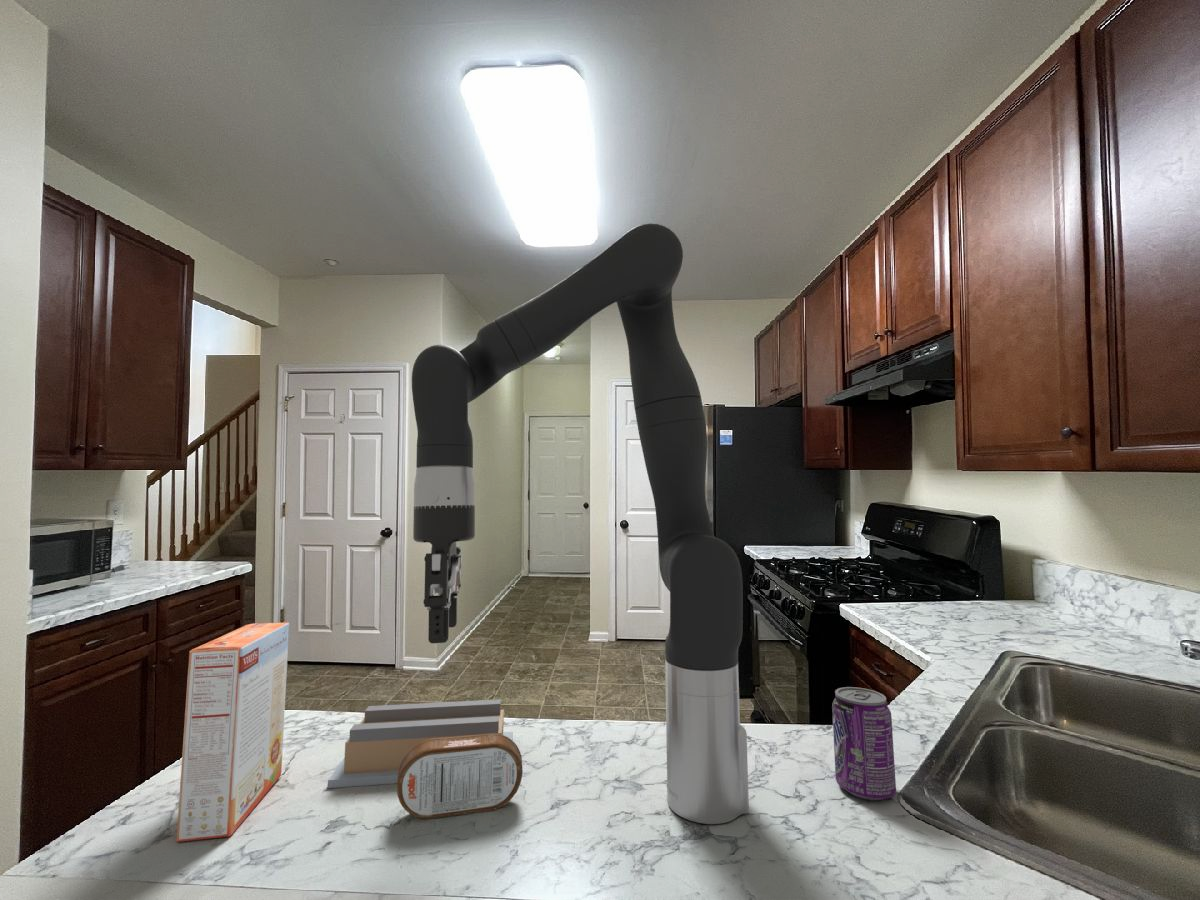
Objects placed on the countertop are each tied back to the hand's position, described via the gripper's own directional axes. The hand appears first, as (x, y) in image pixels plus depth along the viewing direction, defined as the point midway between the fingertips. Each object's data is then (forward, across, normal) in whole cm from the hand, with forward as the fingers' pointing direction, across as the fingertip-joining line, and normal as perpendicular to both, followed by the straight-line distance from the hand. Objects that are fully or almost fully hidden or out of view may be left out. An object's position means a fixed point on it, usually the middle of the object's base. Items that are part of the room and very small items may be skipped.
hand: (443, 634), depth 65 cm
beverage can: (+23, -3, -54) cm, 59 cm away
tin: (+22, +1, -2) cm, 22 cm away
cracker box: (+21, +6, +26) cm, 34 cm away
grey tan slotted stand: (+21, +15, +4) cm, 26 cm away
